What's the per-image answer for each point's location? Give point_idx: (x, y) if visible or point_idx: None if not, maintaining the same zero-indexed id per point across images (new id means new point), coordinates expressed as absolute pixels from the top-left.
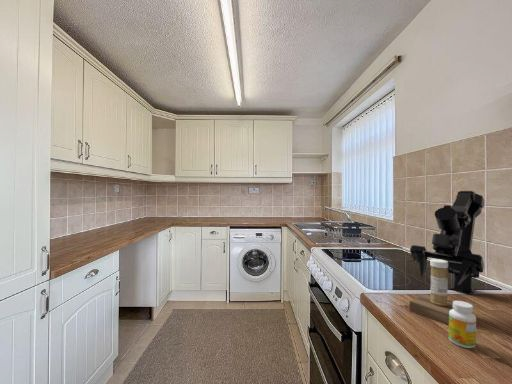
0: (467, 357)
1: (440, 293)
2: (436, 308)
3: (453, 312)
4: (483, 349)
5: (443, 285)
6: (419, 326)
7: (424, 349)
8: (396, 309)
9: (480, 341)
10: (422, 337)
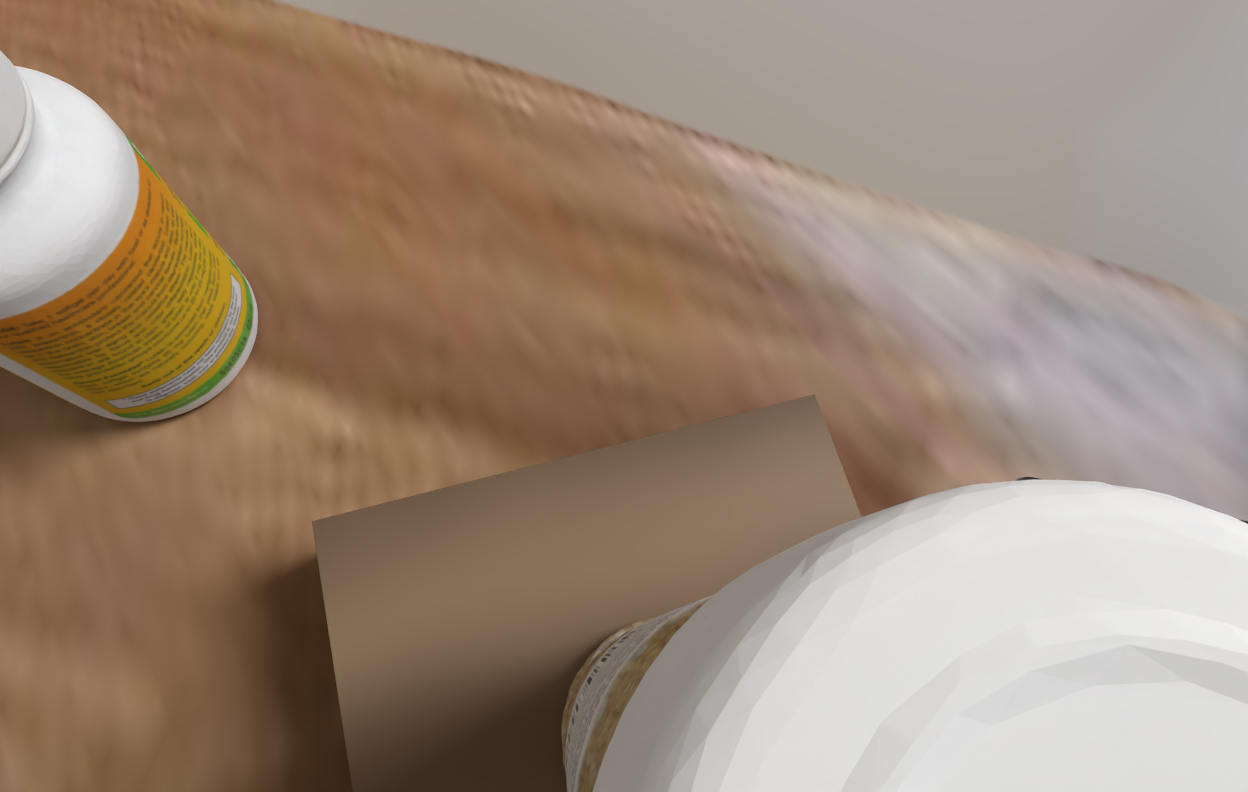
0: None
1: (604, 654)
2: (557, 529)
3: (22, 75)
4: (3, 398)
5: (583, 708)
6: (497, 244)
7: (250, 7)
8: (835, 328)
9: (77, 518)
10: (361, 119)
